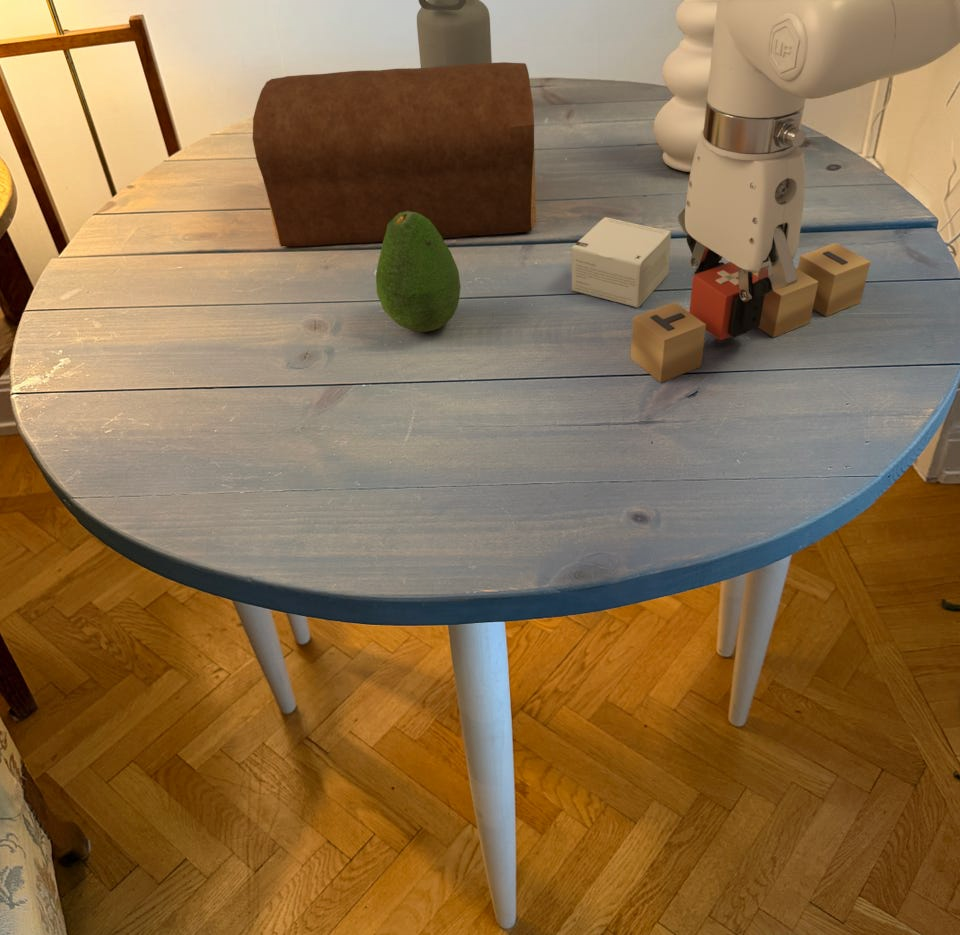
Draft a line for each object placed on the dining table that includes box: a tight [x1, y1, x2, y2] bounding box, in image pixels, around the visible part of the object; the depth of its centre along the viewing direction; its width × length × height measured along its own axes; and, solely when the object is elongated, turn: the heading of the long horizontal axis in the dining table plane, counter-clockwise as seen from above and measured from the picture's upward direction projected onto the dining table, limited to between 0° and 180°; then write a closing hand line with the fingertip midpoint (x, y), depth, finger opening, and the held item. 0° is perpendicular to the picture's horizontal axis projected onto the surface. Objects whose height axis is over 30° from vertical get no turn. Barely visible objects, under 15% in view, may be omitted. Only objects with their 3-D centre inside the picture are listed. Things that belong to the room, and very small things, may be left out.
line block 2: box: [797, 242, 871, 317], centre depth 91 cm, size 5×5×5 cm
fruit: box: [375, 211, 462, 333], centre depth 89 cm, size 8×8×12 cm
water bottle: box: [416, 0, 493, 68], centre depth 123 cm, size 10×10×28 cm
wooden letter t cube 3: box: [630, 301, 707, 383], centre depth 84 cm, size 5×5×5 cm
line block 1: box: [753, 267, 818, 338], centre depth 89 cm, size 5×5×5 cm
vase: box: [653, 0, 718, 173], centre depth 110 cm, size 11×11×25 cm
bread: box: [252, 61, 537, 248], centre depth 107 cm, size 18×30×16 cm, turn 91°
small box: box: [570, 216, 672, 308], centre depth 95 cm, size 8×8×5 cm
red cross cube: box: [688, 261, 758, 341], centre depth 85 cm, size 5×5×5 cm
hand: (724, 316), depth 86 cm, fingers closed on red cross cube, 4 cm apart
